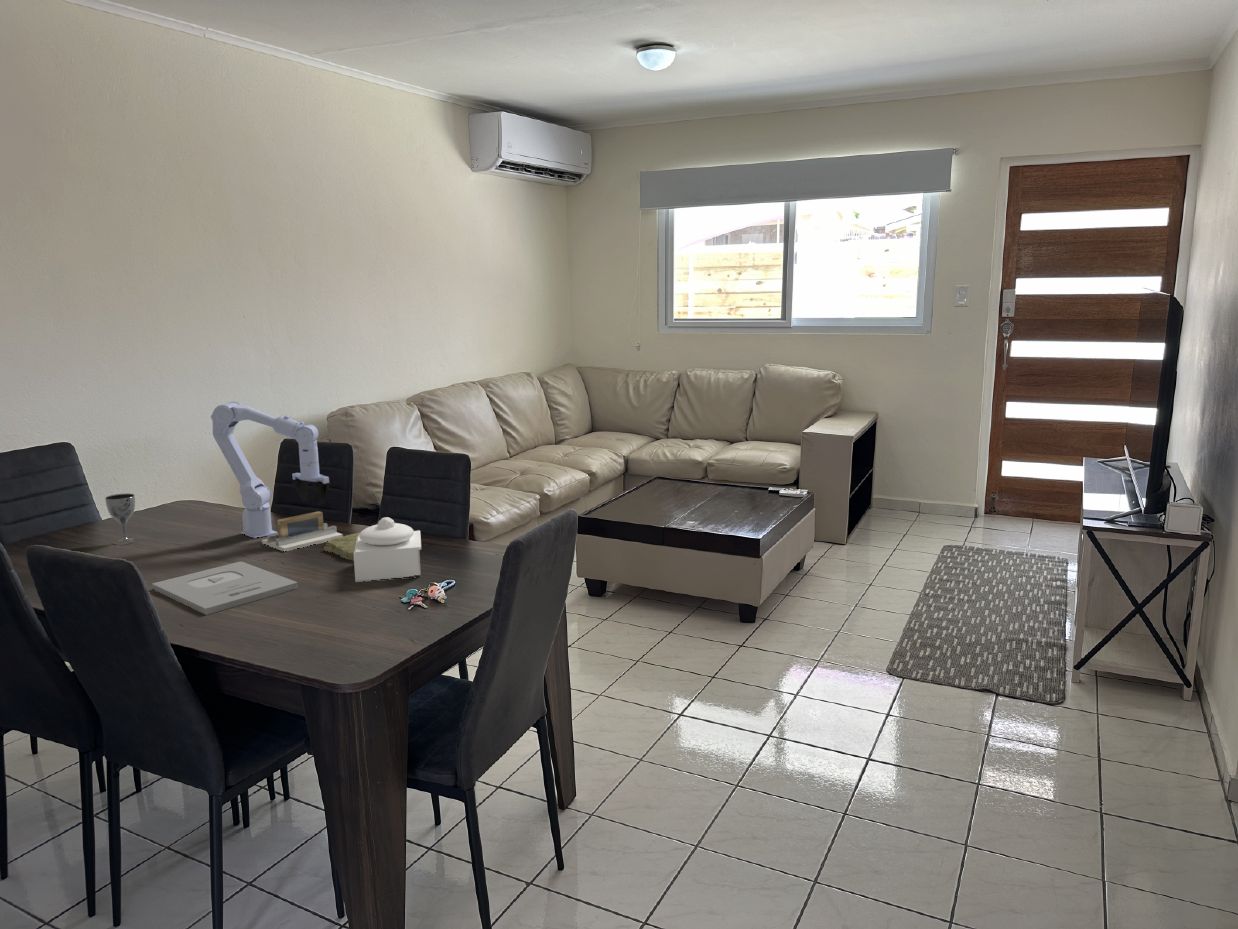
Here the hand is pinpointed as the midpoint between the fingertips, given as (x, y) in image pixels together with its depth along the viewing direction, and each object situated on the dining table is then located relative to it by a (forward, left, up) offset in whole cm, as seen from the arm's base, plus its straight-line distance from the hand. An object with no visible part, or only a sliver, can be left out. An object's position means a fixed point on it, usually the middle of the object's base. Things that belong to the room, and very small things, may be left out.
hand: (312, 502), depth 276 cm
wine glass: (-38, -44, -11) cm, 59 cm away
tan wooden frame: (+5, -7, -9) cm, 13 cm away
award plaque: (+31, -44, -11) cm, 55 cm away
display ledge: (+5, -7, -10) cm, 13 cm away
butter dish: (+52, -6, -11) cm, 53 cm away
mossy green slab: (+29, 0, -11) cm, 31 cm away
